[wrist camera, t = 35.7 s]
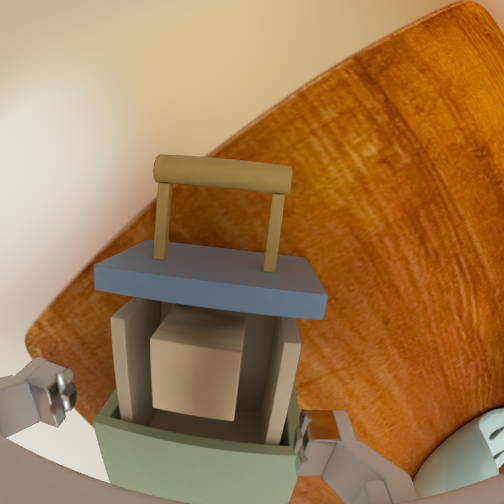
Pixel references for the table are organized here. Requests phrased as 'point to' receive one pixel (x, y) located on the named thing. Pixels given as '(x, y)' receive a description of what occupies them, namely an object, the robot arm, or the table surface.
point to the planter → (464, 456)
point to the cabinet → (196, 462)
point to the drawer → (213, 303)
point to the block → (197, 361)
